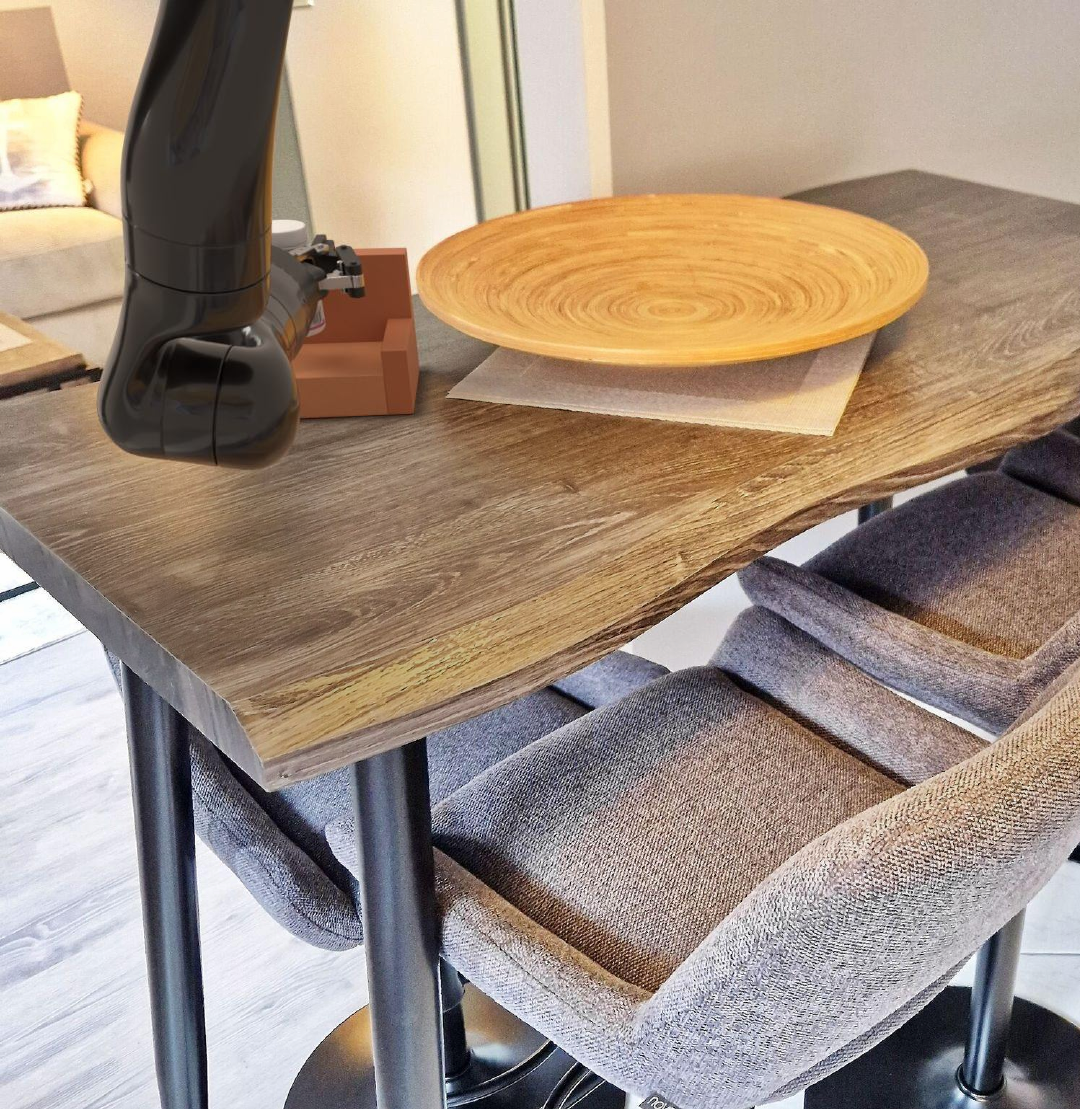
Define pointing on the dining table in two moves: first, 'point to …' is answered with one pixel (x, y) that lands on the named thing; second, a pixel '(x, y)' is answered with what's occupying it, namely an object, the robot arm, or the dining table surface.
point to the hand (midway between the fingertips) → (288, 247)
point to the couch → (363, 346)
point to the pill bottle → (289, 238)
